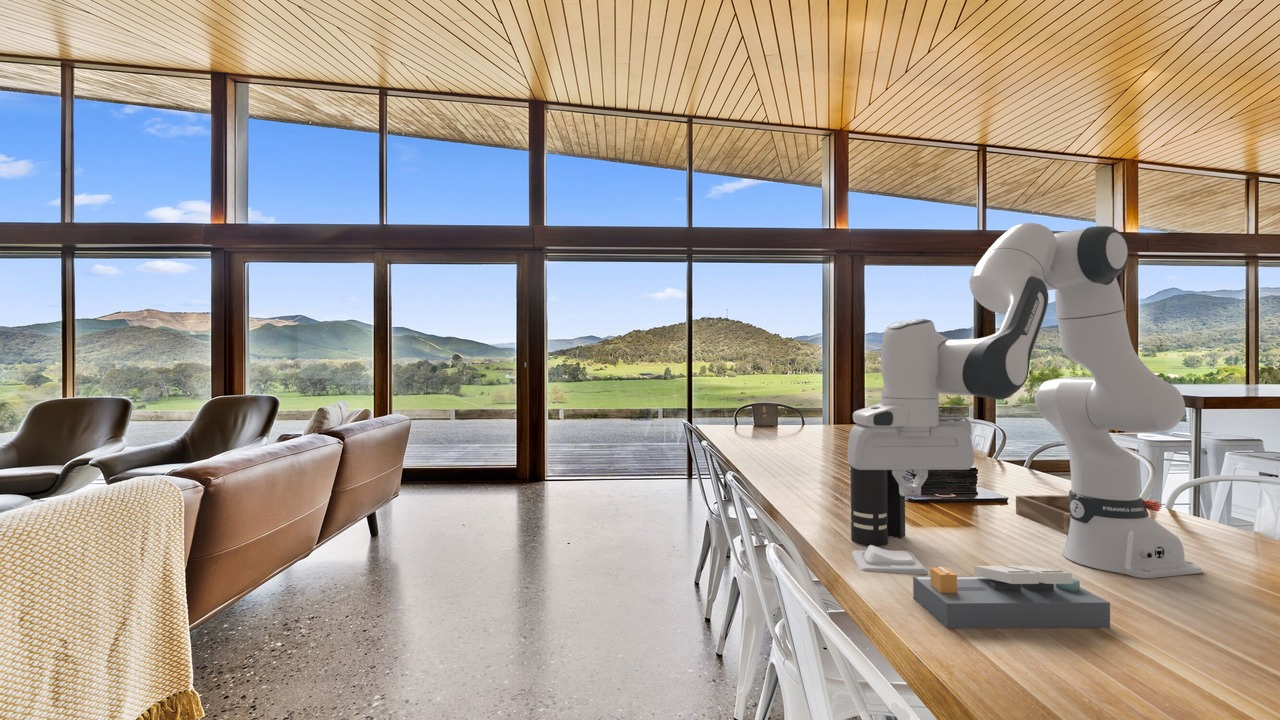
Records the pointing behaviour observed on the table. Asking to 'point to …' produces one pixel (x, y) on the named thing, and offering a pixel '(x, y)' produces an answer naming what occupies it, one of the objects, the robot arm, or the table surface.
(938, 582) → the slider knob
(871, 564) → the light switch
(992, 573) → the panel
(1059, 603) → the panel
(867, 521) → the light fixture
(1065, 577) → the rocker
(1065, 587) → the button
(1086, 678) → the table surface
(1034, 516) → the frame
